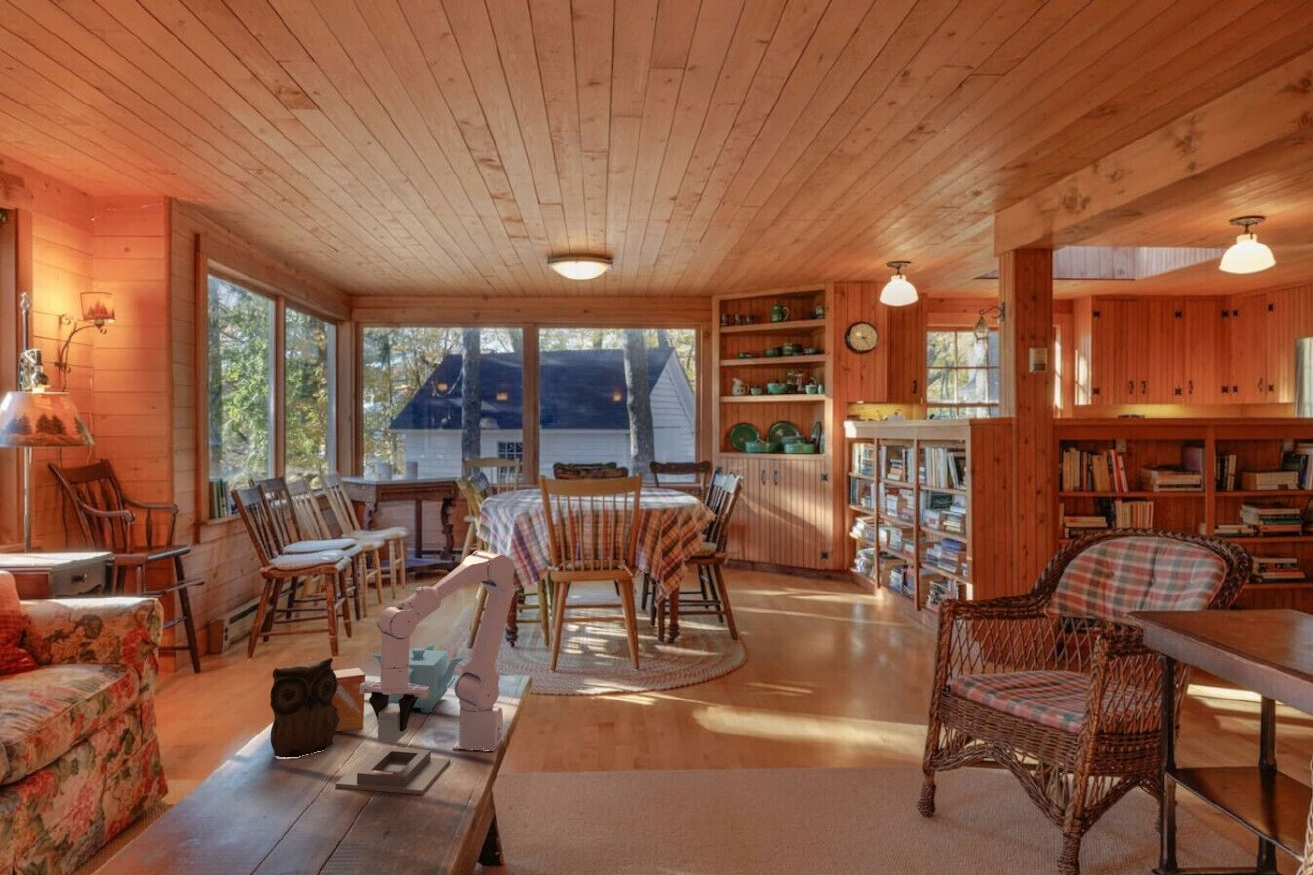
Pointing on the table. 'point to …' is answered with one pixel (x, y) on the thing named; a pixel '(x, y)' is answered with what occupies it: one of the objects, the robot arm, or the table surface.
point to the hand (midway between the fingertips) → (393, 728)
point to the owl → (303, 708)
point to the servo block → (390, 724)
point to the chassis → (395, 771)
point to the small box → (349, 699)
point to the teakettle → (428, 674)
